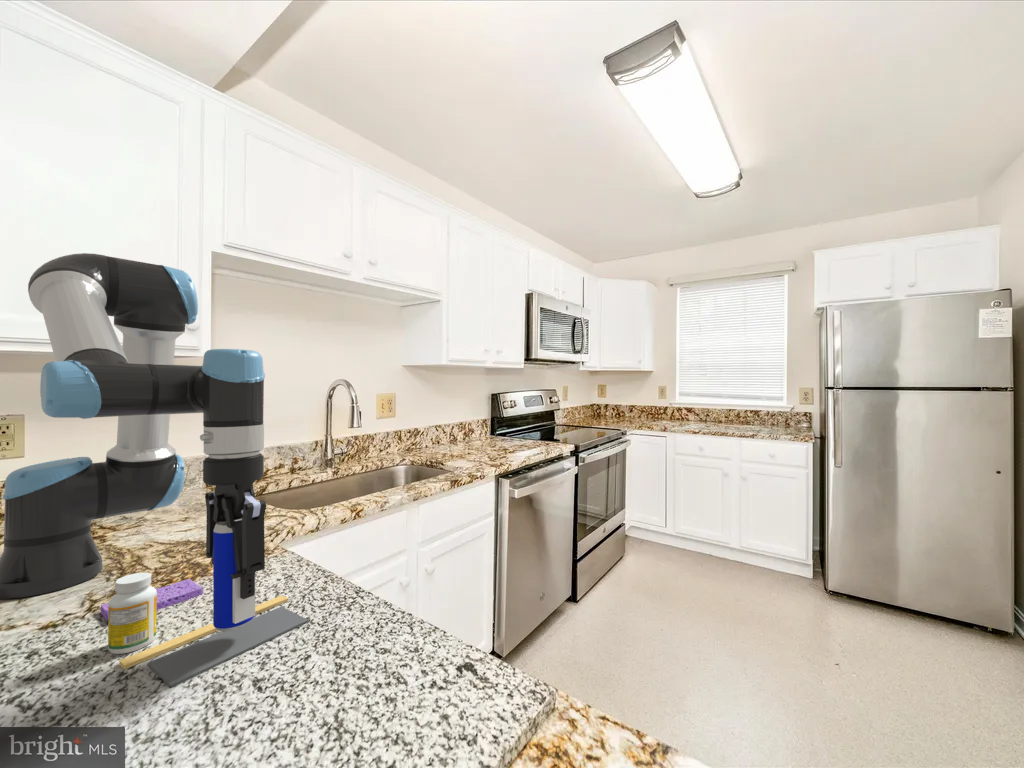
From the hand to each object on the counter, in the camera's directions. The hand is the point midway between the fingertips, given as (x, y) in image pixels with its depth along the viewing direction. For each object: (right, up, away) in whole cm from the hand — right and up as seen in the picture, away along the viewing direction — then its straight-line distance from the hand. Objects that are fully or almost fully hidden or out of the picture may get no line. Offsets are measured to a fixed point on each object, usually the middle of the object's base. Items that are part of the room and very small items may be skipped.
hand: (234, 612), depth 63 cm
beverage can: (0, -2, 0) cm, 2 cm away
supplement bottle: (-15, -5, 0) cm, 15 cm away
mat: (0, -4, 0) cm, 4 cm away
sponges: (-22, -5, +12) cm, 25 cm away
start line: (-5, -4, +3) cm, 8 cm away
